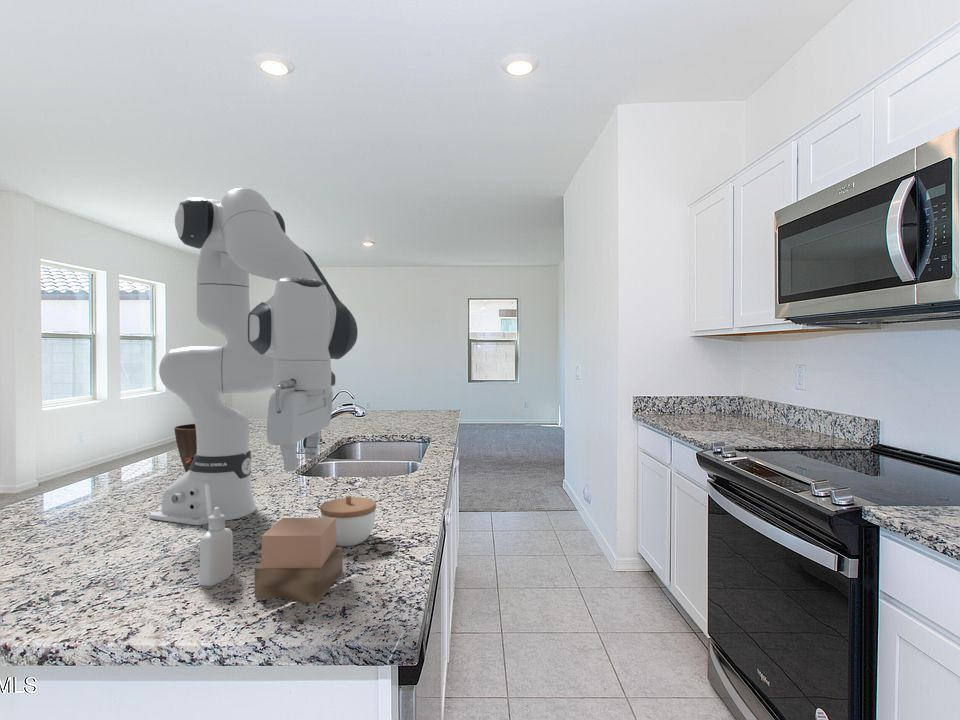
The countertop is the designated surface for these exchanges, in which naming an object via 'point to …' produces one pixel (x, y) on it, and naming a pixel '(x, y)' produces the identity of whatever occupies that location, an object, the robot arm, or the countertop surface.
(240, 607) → the countertop surface
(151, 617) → the countertop surface
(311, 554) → the terracotta top block
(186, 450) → the plant pot
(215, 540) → the eye dropper bottle
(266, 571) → the walnut base block
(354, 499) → the lidded jar
